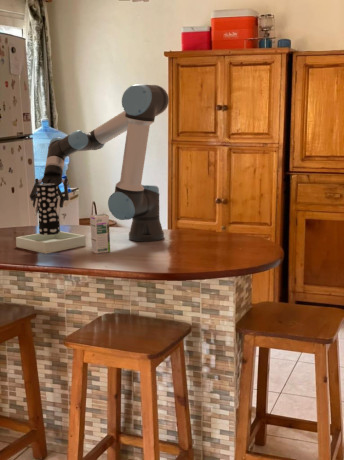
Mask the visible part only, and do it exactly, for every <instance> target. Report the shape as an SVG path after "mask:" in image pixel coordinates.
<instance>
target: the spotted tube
mask: <svg viewBox="0 0 344 460" xmlns="http://www.w3.org/2000/svg"><path fill="white" fill-rule="evenodd" d="M58 198H59V194H58V184H57V183H43V182H42V183H41V184H37V200H38V213H37V217H38V232H39V234H41V235H54V234H59V233H60V231H61V227H60V224H61V223H60V214H59V215H57V212H56V209H57V203H58Z"/></svg>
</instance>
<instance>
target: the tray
mask: <svg viewBox="0 0 344 460" xmlns="http://www.w3.org/2000/svg"><path fill="white" fill-rule="evenodd" d="M15 242H16V248H19V249H23V250H24V249H25V250H29V251H33V252H35V253H36V252H37V253H41V254H45V255H47V254H50V253H51V254H52V253H56V252H60V251H66V250H71V249H74V248H81V247H84V246H87V237H86V235H83V234H78V233H73V232H67V231H62V230H60V233H59V234H54V235H41V234H39V233H34V234H28V235H21V236H17V237H16V236H15Z"/></svg>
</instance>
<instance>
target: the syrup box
mask: <svg viewBox="0 0 344 460" xmlns="http://www.w3.org/2000/svg"><path fill="white" fill-rule="evenodd" d="M89 220H90V221H89V222H90V236H91V237H90V239H91V240H90V241H91V243H90V244H91V251H92V252H93V253H95V254H104V253H111V237H110V236H111V235H110V234H111V233H110V216H109V215H108V214H106V213H101V214H91V215H89Z"/></svg>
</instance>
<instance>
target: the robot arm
mask: <svg viewBox="0 0 344 460" xmlns="http://www.w3.org/2000/svg"><path fill="white" fill-rule="evenodd" d="M169 101H170V98H169V94H168V92H167V91H166V90H165V88H164V87H162V86H161V85H158V84H157V85H156V84H146V83H137V84H133V85H130V86H129V87H127V88H126V89H125V91H124V92H123V94H122V96H121V107H122V108H123V111H122V112H120V113H118V114H117V115H115V116H113V117H111V118H110V119H109V120H107V121H105V122H104V123H102V124H101V125H99V126H97V127H96V128H95V129H93V130H91V131H90V132H84V131H82V130H81V129H78V130H75V131H73V132H71V133H69V134H68V135H66V136H65V137H63V138H62V137H59V136H58V137H54V138H52V139H50V142H49V145H48V148H47V149H48V150H47V155H46V161H45V168H44V173H43V177H42V178H41V179H38V178H35V180H34V181H35V182H34V185H33V187H32V190H31V192H30V193H29V199H30V201H32V206H33V208H34V209H33V213H34V216H38V200H37V184H42V183H57V184H58V203H57V209H56V212H57V215H59V216H60V215H61V214H60V213H61V209H62V208H64V202H65V201H67V202H68V201H69V200H70V198H69V189H68V186H69V183H70V182H69V179H68V178H67V177H66V178H63V173H64V167H65V161H66V158H67V157H69V156H71V155H73V154H75V153H77V152H84V151H85V152H86V151H97V150H100V149H102V148H103V147H104V146H105V144H106V143H108V142H109V141H112V140H113V139H115V138H116V137H119V136H120V135H121V134H123V133H125V132H126V136H125V143H124V149H123V150H124V151H123V156H122V157H123V158H122V165H121V171H120V179H119V181H118V182H117V183H115V187H114V192H113V193H112V194H110V196H109V197H108V200H107V208H108V211H109V212H110V213H111V215H112V216H113V217H114V218H115V219H117V220H120V221H127V220H131V219H132V221H131V225H130V230H129V232H128V239H129V240H131V241H134V242H155V241H160V240H161V241H162V240H163V239H164V238H165V232H164V230H163V227H162V223H161V220H160V219H161V218H160V216H161V215H160V192H159V191H160V188H159V187H158V186H157V185H150V184H149V185H147V184H142V180H143V173H144V167H145V160H146V154H147V147H148V139H149V133H150V128H151V127H150V126H151V125H152V124H153V123H155V118H156V116H159V115H161V114H163V113H164V112H165V111H166V109H167V108H168V106H169ZM61 184H62V185H63V188H64V190H63V191H64V195H63V193H62V191H61V188H60V185H61Z"/></svg>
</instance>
